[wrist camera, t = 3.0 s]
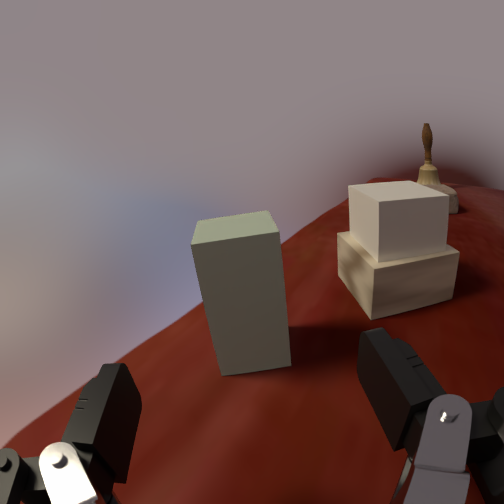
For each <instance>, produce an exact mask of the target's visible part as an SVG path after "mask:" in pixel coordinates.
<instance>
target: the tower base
mask: <svg viewBox="0 0 504 504" xmlns="http://www.w3.org/2000/svg"><path fill="white" fill-rule="evenodd" d="M337 242H338V275H339V277H340V278H341V280H342V281H343V282H344V284H345V285H346V286H347V288H348V289H349V290H350V292H351V293H352V295H353V296H354V297H355V299H356V300H357V301H358V303H359V304H360V306H361V307H362V308H363V310H364V311H365V313H366V314H367V315H368V317H369V318H370V320H373V319H378V318H382V317H386V316H390V315H394V314H398V313H402V312H406V311H410V310H414V309H417V308H421V307H425V306H428V305H432V304H435V303H439V302H442V301H446V300H449V299H452V297H453V291H454V286H455V280H456V274H457V267H458V260H459V251H457V250H455V249H454V248H452V247H451V246H449V245H447V244H446V250H445V251H442V252H436V253H431V254H425V255H419V256H414V257H408V258H402V259H396V260H390V261H384V262H377V261H376V260H375V259H374V258H373V257H372V256H371V255H370V254H369V253H368V252H367V251H366V250H365V249H364V248H363V247H362V246H361V245H360V244H359V243H358V242H357V241H356V240H355V239H354V238H353V237H352V236H351V235H350V231H349V232H342V233H337Z"/></svg>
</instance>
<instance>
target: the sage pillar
mask: <svg viewBox="0 0 504 504" xmlns="http://www.w3.org/2000/svg"><path fill="white" fill-rule="evenodd" d="M191 249H192V253H193V258H194V263H195V267H196V272H197V276H198V281H199V285H200V290H201V295H202V299H203V303H204V308H205V312H206V316H207V320H208V324H209V328H210V333H211V337H212V341H213V345H214V349H215V352H216V356H217V360H218V364H219V368H220V372H221V375H222V376H226V375H234V374H241V373H249V372H256V371H262V370H269V369H275V368H281V367H287V366H291V355H290V343H289V330H288V318H287V307H286V295H285V285H284V274H283V263H282V253H281V243H280V234H279V230H278V229H277V226H276V225H275V223H274V221H273V219H272V217H271V215H270V213H269V212H268V211H261V212H253V213H246V214H239V215H233V216H226V217H219V218H213V219H206V220H201V221H198V222H197V226H196V229H195V232H194V235H193V239H192V242H191Z"/></svg>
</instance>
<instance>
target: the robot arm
mask: <svg viewBox="0 0 504 504" xmlns="http://www.w3.org/2000/svg"><path fill="white" fill-rule="evenodd" d="M357 373H358V378H359V381H360V383H361V385H362V387H363V389H364V391H365V393H366V395H367V397H368V399H369V401H370V403H371V405H372V407H373V409H374V411H375V413H376V415H377V417H378V420H379V422H380V424H381V426H382V428H383V430H384V432H385V434H386V436H387V438H388V440H389V442H390V445H391V447H392V449H393V451H397V450H400V449H403V448H405V449H406V451H407V453H408V455H407V457H406V460H405V463H404V466H403V469H402V472H401V475H400V478H399V480H398V483H397V486H396V488H395V491H394V494H393V496H392V499H391V501H390V503H389V504H465V500H466V496H467V491H468V486H469V481H470V474H469V472H466V471H465V465H466V464H467V465H468V467H469V469H470V471H471V473H472V476H473V478H474V480H475V482H476V484H477V486H478V488H479V490H480V492H481V494H482V496H483V499H484V501H485V503H486V504H504V387H502V388H500V389H499V390H497V392H496V393H495V395H494V397H493V399H492V400H489V401H483V402H477V403H468V402H467V401H466V400H465V399H463V398H462V397H460V396H457V395H452V394H447V393H446V392H445V391H444V389H443V388H442V387H441V385H440V384H439V383H438V381H437V380H436V379H435V377H434V376H433V375H432V373H431V372H430V371H429V369H428V368H427V367H426V365H424V363H423V361H422V360H421V359H420V357H418V355H417V354H416V352H415V351H414V350H413V348H412V347H411V346H410V345H409V344H407V343H406V342H404V341H402V340H401V339H399V338H397V339H393V340H392V338H391V337H390V336H389V334H388V333H387V332H386V330H385V329H384V328H382V327H381V328H377V329H373V330H368V331H364V332H361V334H360V339H359V350H358V360H357ZM141 409H142V401H141V396H140V393H139V391H138V389H137V387H136V385H135V383H134V381H133V378H132V376H131V374H130V372H129V370H128V367H127V366H126V364H124V363H112V364H103V365H102V367H101V369H100V372H99V374H98V376H97V378H92V379H91V380H90V381H89V382H88V383H87V384H86V385H85V387H84V388H83V390H82V392H81V394H80V397H79V401H77V403H76V406H75V410H73V413H72V415H71V417H70V420H69V422H68V425H67V427H66V430H65V432H64V435H63V437H62V440H61V442H57V443H53V444H51V445H49V446H48V447H46V448H45V449H44V450H43V452H42V453H41V455H40V456H39V457H31V458H21V457H20V456H19V455H18V454H17V453H16V452H15V451H14V450H13V449H10V448H4V449H1V450H0V504H20V501H22V502H23V503H24V504H121V502H120V501H119V499H118V498H117V496H116V494H115V493H114V491H113V490H112V489H113V484H114V483H123V484H126V480H127V475H128V470H129V465H130V460H131V455H132V450H133V445H134V441H135V436H136V432H137V427H138V423H139V418H140V414H141Z"/></svg>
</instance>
